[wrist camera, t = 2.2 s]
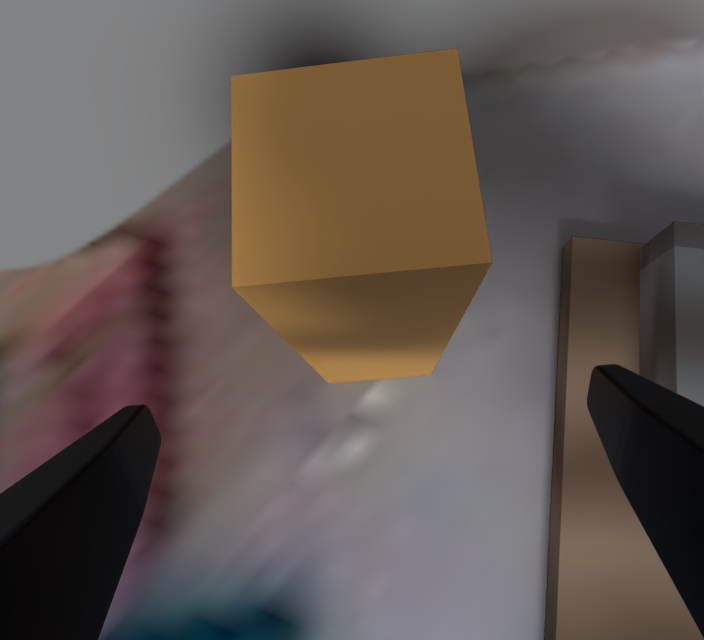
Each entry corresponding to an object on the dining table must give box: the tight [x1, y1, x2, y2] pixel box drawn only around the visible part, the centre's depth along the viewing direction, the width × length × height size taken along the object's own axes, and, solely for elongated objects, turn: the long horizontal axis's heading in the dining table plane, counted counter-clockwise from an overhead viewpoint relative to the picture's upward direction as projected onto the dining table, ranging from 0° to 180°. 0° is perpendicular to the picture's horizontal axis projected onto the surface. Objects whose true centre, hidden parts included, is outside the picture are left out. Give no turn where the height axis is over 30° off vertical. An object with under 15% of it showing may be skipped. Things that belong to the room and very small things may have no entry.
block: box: [231, 48, 492, 383], centre depth 15 cm, size 4×4×13 cm
